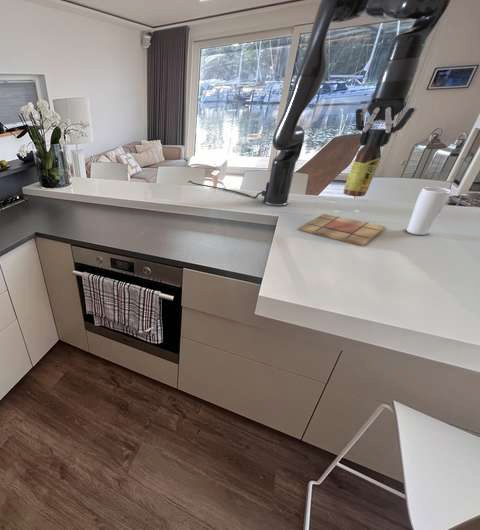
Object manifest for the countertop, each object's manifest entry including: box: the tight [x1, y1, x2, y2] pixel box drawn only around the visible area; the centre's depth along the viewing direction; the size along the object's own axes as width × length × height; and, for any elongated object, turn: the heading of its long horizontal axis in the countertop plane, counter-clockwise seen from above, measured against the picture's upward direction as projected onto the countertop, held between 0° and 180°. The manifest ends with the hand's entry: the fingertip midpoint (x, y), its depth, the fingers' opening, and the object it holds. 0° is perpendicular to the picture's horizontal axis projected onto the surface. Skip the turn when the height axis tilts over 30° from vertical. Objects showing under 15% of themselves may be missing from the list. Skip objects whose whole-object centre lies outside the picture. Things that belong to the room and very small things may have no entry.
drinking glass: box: [406, 186, 452, 236], centre depth 96 cm, size 7×7×15 cm
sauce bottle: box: [342, 128, 386, 197], centre depth 90 cm, size 6×6×20 cm
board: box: [299, 213, 386, 247], centre depth 105 cm, size 20×20×1 cm
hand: (372, 145), depth 87 cm, fingers closed on sauce bottle, 4 cm apart
